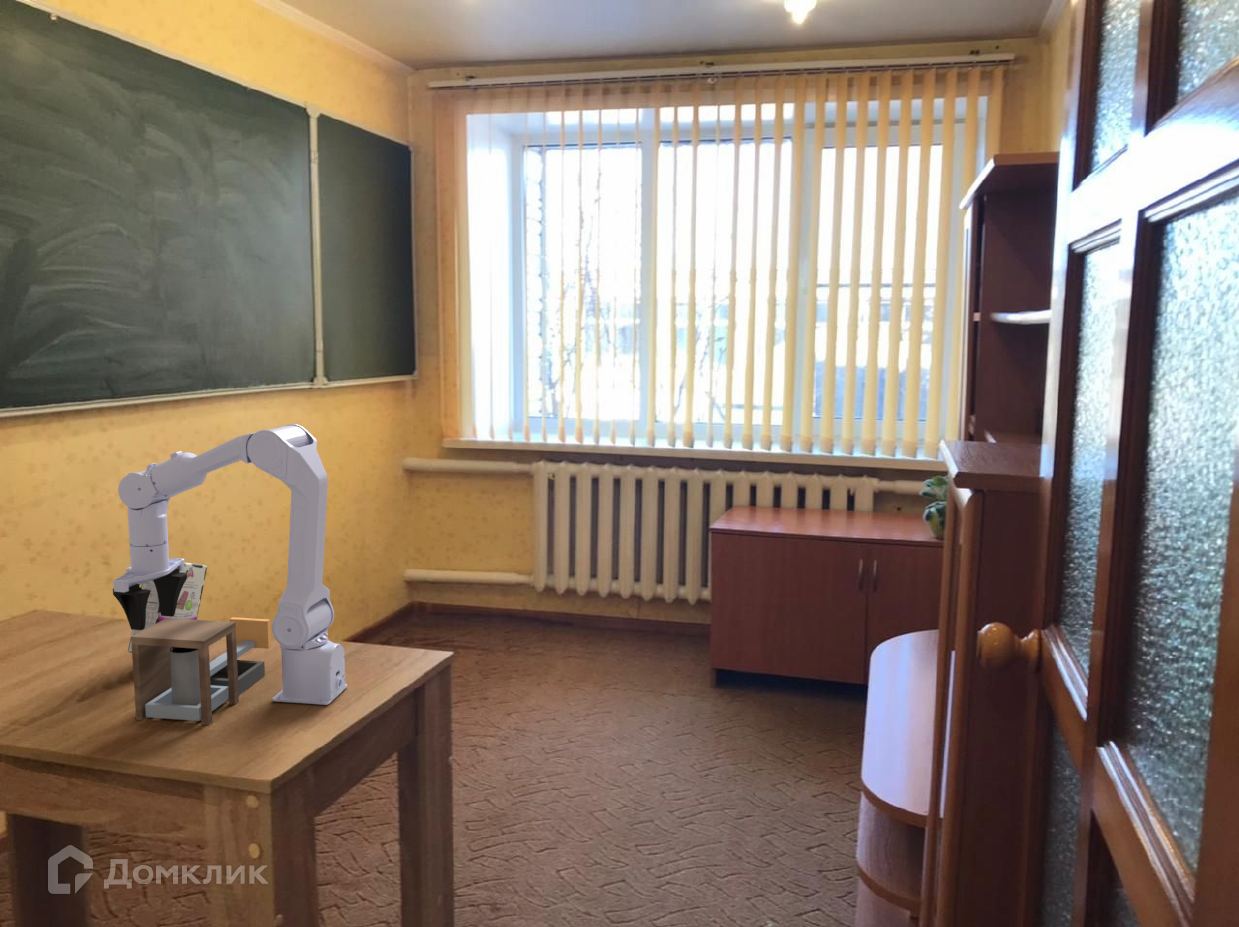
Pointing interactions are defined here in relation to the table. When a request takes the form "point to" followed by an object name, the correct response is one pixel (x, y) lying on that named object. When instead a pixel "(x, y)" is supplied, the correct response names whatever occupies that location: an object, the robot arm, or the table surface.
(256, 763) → the table surface
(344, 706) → the table surface
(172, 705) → the slider
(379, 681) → the table surface
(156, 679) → the tunnel
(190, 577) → the candy bar box
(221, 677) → the box
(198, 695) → the gray cylinder
